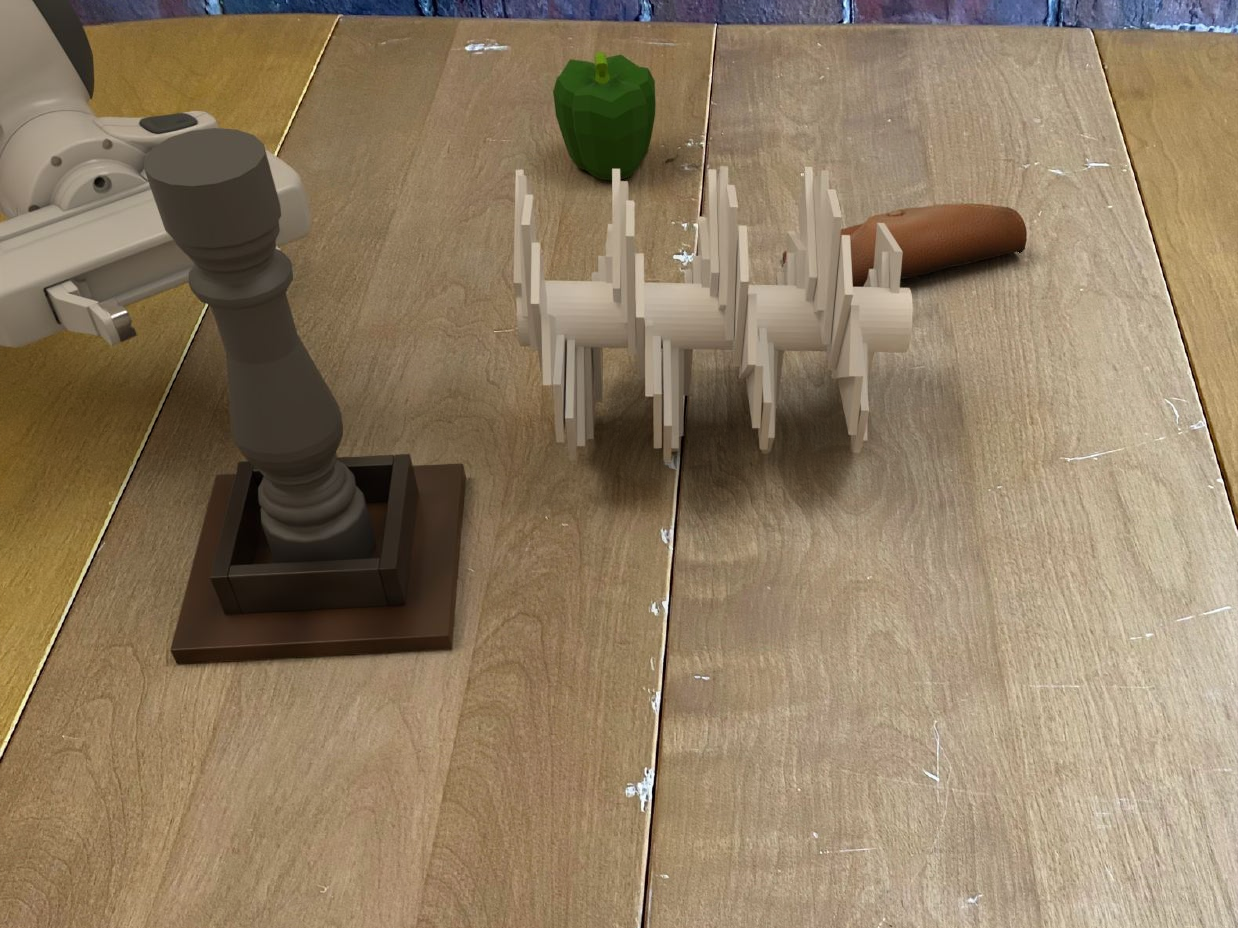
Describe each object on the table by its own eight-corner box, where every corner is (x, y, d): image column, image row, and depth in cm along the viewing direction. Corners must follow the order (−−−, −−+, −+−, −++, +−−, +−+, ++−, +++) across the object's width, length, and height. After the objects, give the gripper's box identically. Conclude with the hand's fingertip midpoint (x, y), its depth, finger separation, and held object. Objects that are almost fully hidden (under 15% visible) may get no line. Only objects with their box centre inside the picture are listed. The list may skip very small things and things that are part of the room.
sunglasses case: (970, 204, 115) (1002, 155, 108) (1003, 280, 114) (1037, 235, 108) (773, 254, 110) (794, 205, 103) (806, 334, 109) (829, 290, 103)
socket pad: (176, 664, 82) (152, 612, 78) (220, 488, 92) (201, 436, 89) (452, 649, 82) (440, 597, 79) (466, 477, 93) (455, 425, 89)
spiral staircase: (891, 507, 97) (528, 505, 95) (879, 283, 101) (532, 276, 99) (944, 372, 79) (500, 365, 77) (927, 107, 84) (506, 94, 82)
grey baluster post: (344, 593, 84) (225, 198, 65) (254, 570, 85) (110, 175, 66) (394, 529, 88) (295, 137, 68) (307, 507, 89) (185, 117, 70)
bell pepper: (580, 136, 123) (569, 17, 115) (669, 149, 121) (664, 29, 114) (545, 182, 117) (531, 61, 110) (638, 197, 116) (630, 75, 108)
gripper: (-105, 211, 78) (-5, 317, 72) (228, 101, 87) (344, 186, 80) (-55, 311, 83) (43, 419, 77) (255, 197, 92) (366, 285, 85)
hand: (200, 298), depth 79 cm, fingers open, 8 cm apart
